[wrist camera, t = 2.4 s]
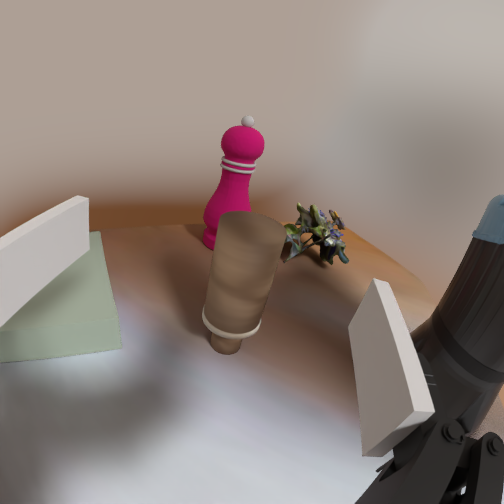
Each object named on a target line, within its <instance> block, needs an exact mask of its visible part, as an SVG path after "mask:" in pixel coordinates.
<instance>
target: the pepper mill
mask: <svg viewBox="0 0 504 504" xmlns="http://www.w3.org/2000/svg"><path fill="white" fill-rule="evenodd" d="M241 123H242V125H243V126H235V127H231V128H230V129H228V130H227V131H226V132H225V133H224V135H223V137H222V141H221V148H222V150H223V151H224V154H225V156H223V157H222V163H221V164H220V165H221V167H222V176H221V180H220V183H219V186H218V188H217V190H216V191H215V193H214V195H213V196H212V197H211V199H210V200H209V202H208V204H207V206H206V208H205V212H204V217H203V218H204V222H205V224H206V226H207V228H206V229H205V230H204V236H203V242H204V244H205V245H206V246H207V247H208V248H210V249H212V250H214V246H215V241H216V235H217V230H218V224H219V219H220V216H221V215H222V214H224V213H226V212H230V211H248V212H251V207H250V202H249V195H248V187H249V180H250V177H251V174H252V173H254V172H255V166H256V163H255V162H254V161H255V160H256V159H257V158H258V157H260V156H261V155H262V153H263V150H264V139H263V137H262V135H261V134H260V133H259V132H258V131H257V130H255V129H253V128H251V127H252V126H253V125H254V119H253V118H252V117H251V116H245V117H243V118H242V121H241Z"/></svg>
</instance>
